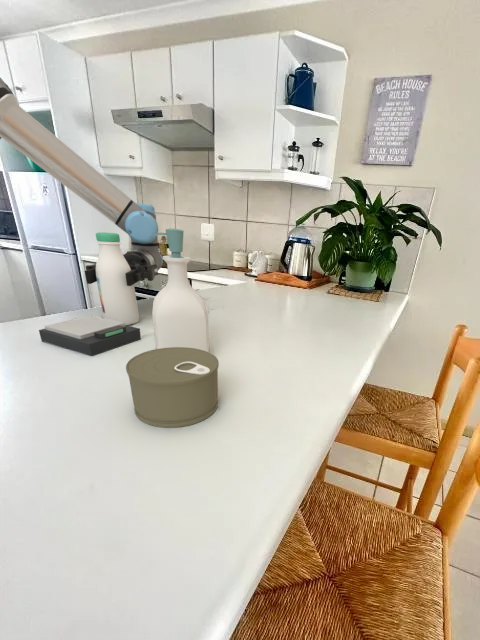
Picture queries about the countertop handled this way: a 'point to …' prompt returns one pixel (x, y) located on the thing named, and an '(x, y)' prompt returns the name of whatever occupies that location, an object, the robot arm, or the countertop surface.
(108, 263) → the milk bottle
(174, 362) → the can
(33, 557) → the countertop surface
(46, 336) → the kitchen scale
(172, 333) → the soap bottle
